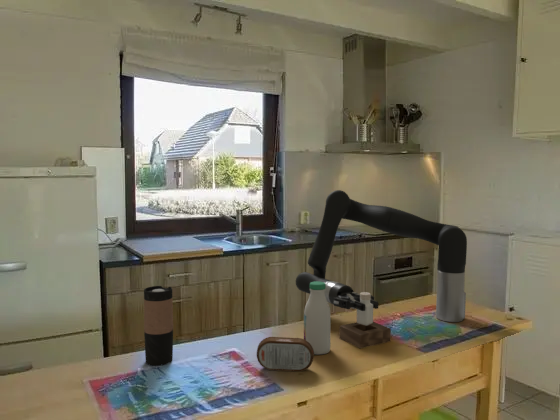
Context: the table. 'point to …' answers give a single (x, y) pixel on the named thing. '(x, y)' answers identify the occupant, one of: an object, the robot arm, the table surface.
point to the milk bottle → (317, 319)
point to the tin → (285, 354)
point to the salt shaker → (366, 315)
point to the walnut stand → (364, 334)
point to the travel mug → (158, 325)
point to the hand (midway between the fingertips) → (371, 306)
